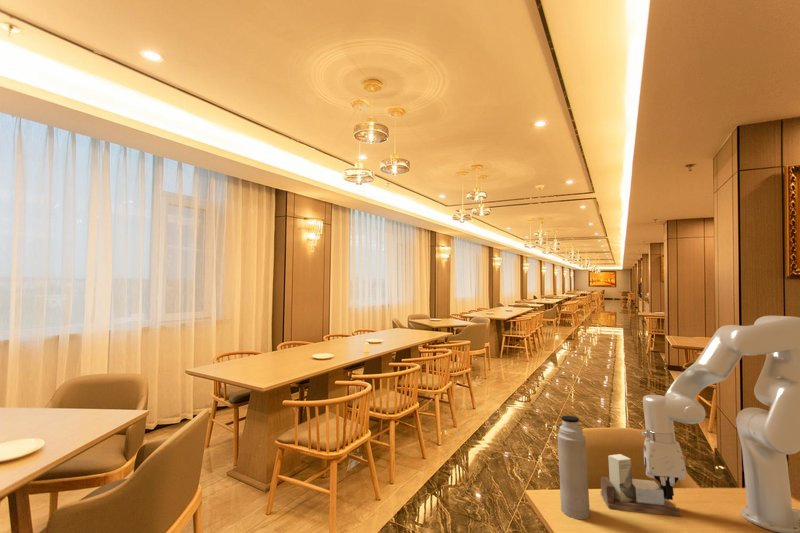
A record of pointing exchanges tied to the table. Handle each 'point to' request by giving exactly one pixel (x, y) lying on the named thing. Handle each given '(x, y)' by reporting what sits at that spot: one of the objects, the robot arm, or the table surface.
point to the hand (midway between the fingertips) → (667, 497)
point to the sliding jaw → (647, 492)
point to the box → (621, 477)
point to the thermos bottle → (573, 469)
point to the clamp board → (612, 503)
